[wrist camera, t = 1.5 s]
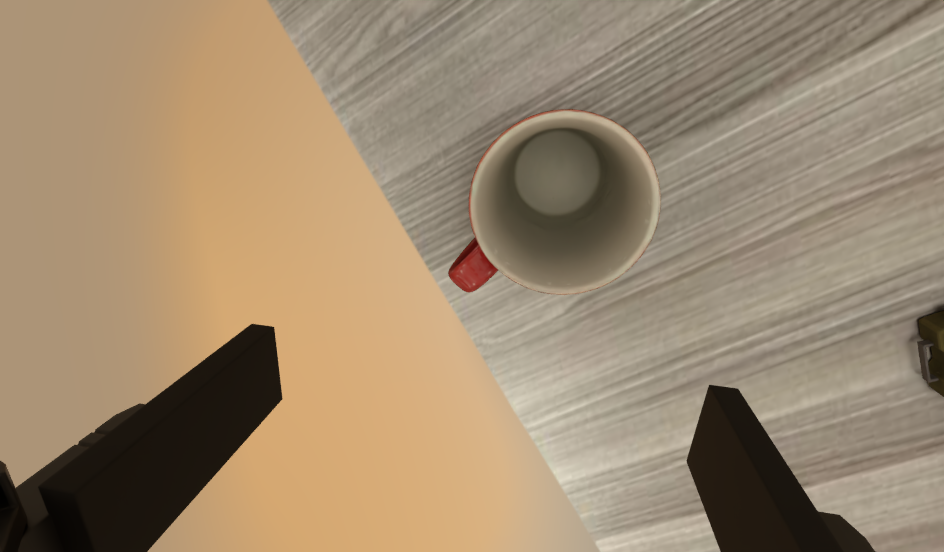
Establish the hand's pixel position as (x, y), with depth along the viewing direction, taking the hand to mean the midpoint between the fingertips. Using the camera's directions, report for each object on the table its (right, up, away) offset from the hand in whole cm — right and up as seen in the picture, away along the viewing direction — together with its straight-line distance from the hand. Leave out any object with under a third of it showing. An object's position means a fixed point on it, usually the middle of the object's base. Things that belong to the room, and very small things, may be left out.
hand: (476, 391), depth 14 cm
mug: (+5, +11, +21) cm, 24 cm away
